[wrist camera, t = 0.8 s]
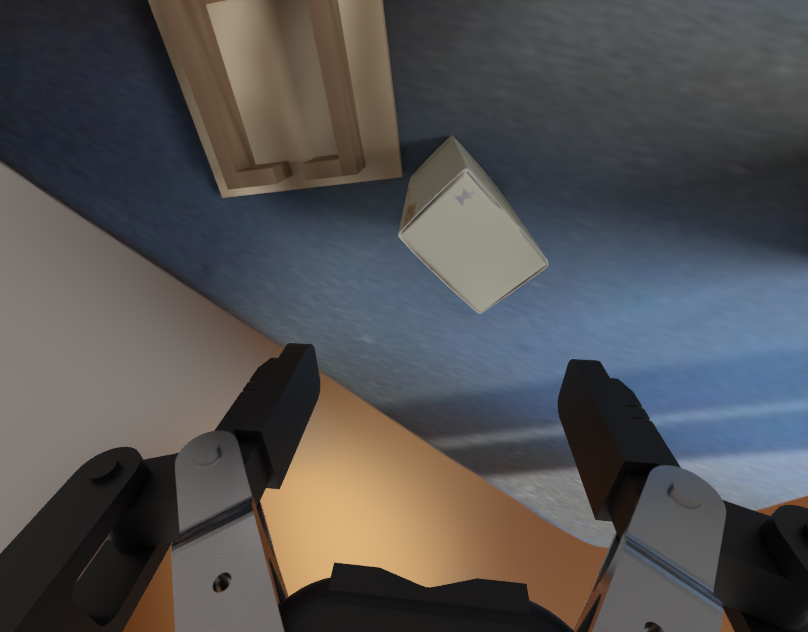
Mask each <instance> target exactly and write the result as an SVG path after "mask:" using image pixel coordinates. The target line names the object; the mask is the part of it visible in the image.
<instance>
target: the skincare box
mask: <svg viewBox="0 0 808 632" xmlns="http://www.w3.org/2000/svg"><path fill="white" fill-rule="evenodd" d="M398 236H399V238H400V239H401V240H402V241H403V242H404V244H405V245H406V246H407V247H408V248H409V249H410V250H411V251H412V252H413V253H414V254H415V255H416V256H417V257H418V258H419V259H420V260H421V261H422V262H423V263H424V264H425V265H426V266H427V267H428V268H429V269H430V270H431V271H432V272H433V273H434V274H435V275H436V276H437V277H438V278H439V279H440V280H441V281H442V282H444V283H445V284H446V285H447V286H448V287H449V288H450V289H451V290H452V291H453V292H454V293H455V294H457V295H458V296H459V297H460V298H461V299H462V300H463V301H464V302H465V303H467V304H468V305H469V306H470V307H471V308H472V309H473V310H475V311H476V312H477V313H478V314H481V313H483V312H484V311H486V310H487V309H489V308H490V307H492V306H493V305H495V304H496V303H498V302H499V301H501V300H502V299H504V298H505V297H507V296H508V295H510V294H511V293H513V292H514V291H515V290H517V289H518V288H520V287H521V286H523V285H524V284H525V283H527V282H528V281H530V280H531V279H533V278H534V277H535V276H537V275H538V274H540V273H541V272H542V271H544V270H545V269H546V268H547V267H548V265H549V262H548V260H547V258H546V257H545V255H544V254H543V252H542V251H541V249H540V248H539V246H538V245H537V244H536V242H535V241H534V239H533V238H532V236H531V235H530V233H529V232H528V230H527V229H526V227H525V226H524V224H523V223H522V222H521V220H520V219H519V217H518V216H517V214H516V213H515V211H514V210H513V208H512V207H511V205H510V204H509V202H508V201H507V199H506V198H505V196H504V195H503V194H502V192H501V191H500V190H499V189H498V187H497V186H496V185H495V184H494V182H493V181H492V180H491V179H490V177H489V176H488V175H487V174H486V173H485V171H484V170H483V169H482V168H481V167H480V166H479V164H478V163H477V162H476V161H475V160H474V159H473V157H472V156H471V155H470V154H469V153H468V152H467V151H466V149H465V148H464V147H463V146H462V145H461V144H460V143H459V142H458V141H457V140H456V139H455V138H454V137H453V136H450V137H449V138H448V139H447V140H446V141H445V142H444V143H443V144H442V145H441V146H440V147H439V148H438V149H436V150H435V151H434V152H433V153H432V154H431V156H430V157H429V158H428V159H427V160H426V161H425V162H424V163H423V164H422V165H421V166H420V167H419V168H418V169H417V170H416V172H415V173H414V174H413V175H412V176H411V177H410V181H409V185H408V190H407V195H406V199H405V204H404V208H403V213H402V218H401V223H400V227H399V232H398Z"/></svg>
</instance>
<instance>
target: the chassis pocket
mask: <svg viewBox="0 0 808 632" xmlns="http://www.w3.org/2000/svg"><path fill="white" fill-rule="evenodd" d="M148 2H149V4H150V7H151V10H152V12H153V15H154V18H155V20H156V23H157V26H158V28H159V31H160V34H161V36H162V39H163V42H164V44H165V47H166V50H167V52H168V55H169V58H170V60H171V63H172V65H173V68H174V71H175V73H176V76H177V79H178V81H179V84H180V87H181V89H182V92H183V95H184V97H185V100H186V103H187V105H188V108H189V111H190V113H191V116H192V119H193V121H194V124H195V127H196V129H197V132H198V135H199V137H200V140H201V142H202V145H203V148H204V150H205V153H206V156H207V158H208V161H209V164H210V166H211V169H212V172H213V174H214V177H215V180H216V182H217V185H218V188H219V190H220V193H221V196H222V198H226V197H235V196H244V195H252V194H261V193H270V192H278V191H287V190H296V189H304V188H313V187H321V186H330V185H339V184H347V183H356V182H365V181H373V180H382V179H391V178H399V177H403V167H402V159H401V150H400V142H399V133H398V125H397V116H396V108H395V99H394V91H393V82H392V74H391V65H390V57H389V48H388V40H387V31H386V23H385V14H384V6H383V0H148Z"/></svg>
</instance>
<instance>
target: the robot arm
mask: <svg viewBox="0 0 808 632" xmlns="http://www.w3.org/2000/svg"><path fill="white" fill-rule="evenodd" d="M319 393H320V377H319V371H318V365H317V359H316V354H315V349H314V346H313V345H312V344H296V343H289V344H287V345H286V347H285V348H284V350H283V352H282V353H281V355H280V356H279V358H270V359H269V360H268V361H266V362H265V363H264V364H263V365H261V366H260V367H258V369H257V370H256V372H255V373H254V374H253V376H252V377H251V379H250V382H248V383H247V384H246V386H245V387H244V389H243V392H241V393H240V395H239V396H238V397H237V399H236V400H235V402H234V403H233V405H232V406H231V408H230V409H229V411H228V412H227V413H226V415H225V416H224V418H223V419H222V421H221V422H220V424H219V425H218V427H217V428H216V429H215V430H214V431H211V432H207V433H204V434H202V435H199V436H198V437H196V438H194V439H193V440H191V441H190V442H188V443H187V444H186V445H185V446H184V447H183V448H182V450H181V451H180V452H179V453H176V454H172V455H166V456H161V457H156V458H150V459H145V460H143V458H142V457H141V455H140V453H139V452H138V451H137V450H136V449H134V448H131V447H119V448H114V449H111V450H108V451H105V452H103V453H101V454H99V455H97V456H95V457H94V458H92V459H90V460H89V461H87V462H86V463H85V464H83V465H82V466H81V467H80V468H79V469H78V470H77V471H76V472H75V473H74V474H73V475H72V476H71V477H70V479H69V480H68V481H67V482H66V483H65V484H64V485H63V486H62V487H61V488H60V490H59V491H58V492H57V493H56V494H55V495H54V496H53V497H52V498H51V499H50V500H49V501H48V503H47V504H46V505H45V506H44V507H43V508H42V509H41V510H40V511H39V512H38V514H37V515H36V516H35V517H34V518H33V519H32V520H31V521H30V522H29V523H28V524H27V525H26V526H25V528H24V529H23V530H22V531H21V532H20V533H19V534H18V535H17V536H16V537H15V539H14V540H13V541H12V542H11V543H10V544H9V545H8V546H7V547H6V548H5V549H4V550H3V552H2V553H1V554H0V632H122V631H123V630H124V628H125V626H126V624H127V622H128V621H129V619H130V617H131V615H132V614H133V612H134V610H135V608H136V606H137V604H138V603H139V601H140V599H141V597H142V596H143V594H144V592H145V590H146V588H147V587H148V585H149V583H150V581H151V579H152V577H153V576H154V574H155V572H156V570H157V569H158V567H159V565H160V563H161V561H162V560H163V558H164V556H165V554H166V552H167V551H168V549H169V547H170V545H171V543H172V542H173V543H172V550H171V556H172V576H173V595H174V614H175V632H721V626H722V619H723V609H724V611H725V613H726V615H727V617H728V619H729V621H730V623H731V625H732V627H733V629H734V631H735V632H808V508H804V507H801V506H796V505H784V506H781V507H779V508H778V509H777V510H776V511H775V512H774V513H773V514H772V515H771V516H768V515H765V514H762V513H759V512H756V511H753V510H750V509H747V508H744V507H741V506H738V505H735V504H732V503H729V502H727V501H724V500H722V498H721V497H720V495H719V494H718V493H717V492H716V490H715V489H714V488H713V487H712V486H711V485H710V484H708V483H707V482H706V481H705V480H703V479H702V478H700V477H699V476H697V475H696V474H694V473H692V472H690V471H688V470H685V469H683V468H681V467H680V466H679V464H678V462H677V461H676V459H675V458H674V456H673V454H672V453H671V451H670V450H669V448H668V447H667V445H666V443H665V442H664V440H663V439H662V437H661V435H660V434H659V432H658V431H657V429H656V427H655V426H654V424H653V423H652V421H650V420H649V416H648V415H647V413H646V412H645V410H644V409H642V405H641V404H640V402H639V400H638V399H637V397H636V396H635V394H634V393H633V391H632V390H630V389H629V388H628V387H627V386H626V385H625V384H623V383H622V382H621V381H620V380H619V379H614V378H609V376H608V374H607V372H606V371H605V369H604V367H603V365H602V364H601V363H600V362H599V361H596V360H578V359H571V360H570V361H569V363H568V366H567V369H566V373H565V376H564V379H563V383H562V386H561V389H560V393H559V396H558V413H559V417H560V420H561V423H562V426H563V429H564V432H565V434H566V437H567V440H568V443H569V446H570V449H571V451H572V454H573V457H574V460H575V463H576V466H577V469H578V471H579V474H580V477H581V480H582V483H583V486H584V489H585V491H586V494H587V497H588V500H589V503H590V506H591V508H592V511H593V514H594V517H595V520H602V521H612V522H613V525H614V527H615V530H616V534H615V536H614V537H613V540H612V542H611V544H610V547H609V549H608V552H607V554H606V557H605V559H604V561H603V564H602V566H601V568H600V571H599V573H598V576H597V578H596V581H595V583H594V586H593V588H592V590H591V593H590V595H589V597H588V600H587V602H586V604H585V606H584V608H583V610H582V612H581V614H580V616H579V618H578V620H577V623H576V625H575V627H574V629H571V628H570V627H569V626H568V625H567V624H566V623H565V622H563V621H562V620H561V619H560V618H558V617H557V616H556V615H554V614H553V613H551V612H550V611H549V610H547V609H545V608H543V607H542V606H540V605H538V604H536V603H534V602H532V601H529V597H528V591H527V584H523V583H513V582H505V581H496V580H486V579H472V580H467V581H462V582H457V583H452V584H447V585H442V586H436V587H431V588H429V587H424V586H421V585H419V584H416V583H414V582H412V581H409V580H407V579H405V578H402V577H400V576H398V575H396V574H393V573H391V572H388V571H386V570H384V569H382V568H377V567H369V566H360V565H351V564H342V563H334V566H333V570H332V574H331V578H326V579H322V580H320V581H317V582H314V583H311V584H309V585H307V586H305V587H303V588H301V589H300V590H298V591H297V592H295V593H293V594H292V595H290V596H289V597H288V594H287V591H286V587H285V584H284V581H283V578H282V575H281V572H280V569H279V565H278V562H277V559H276V555H275V551H274V548H273V544H272V541H271V537H270V534H269V530H268V526H267V523H266V519H265V516H264V512H263V509H262V505H261V502H260V499H261V497H262V495H263V493H264V491H265V489H266V488H272V489H280V487H281V485H282V483H283V480H284V478H285V475H286V473H287V471H288V468H289V466H290V464H291V461H292V459H293V457H294V454H295V452H296V449H297V447H298V445H299V442H300V440H301V438H302V435H303V433H304V431H305V428H306V426H307V424H308V421H309V419H310V417H311V414H312V412H313V409H314V407H315V405H316V402H317V400H318V397H319ZM106 538H108V539H107V540H106V542H105V543H104V545H103V546H102V547H101V549H100V550H99V551H98V553H97V554H96V556H95V557H94V558H93V560H92V561H91V563H90V564H89V566H88V567H87V569H86V570H85V571H84V573H83V574H82V576H81V577H80V578H79V580H78V581H77V579H78V577H79V576H80V574H81V573H82V572H83V570H84V569H85V567H86V566H87V565H88V563H89V562H90V560H91V559H92V557H93V556H94V555H95V553H96V552H97V550H98V549H99V547H100V546H101V545H102V543H103V542H104V540H105V539H106ZM76 581H77V583H76Z"/></svg>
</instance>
